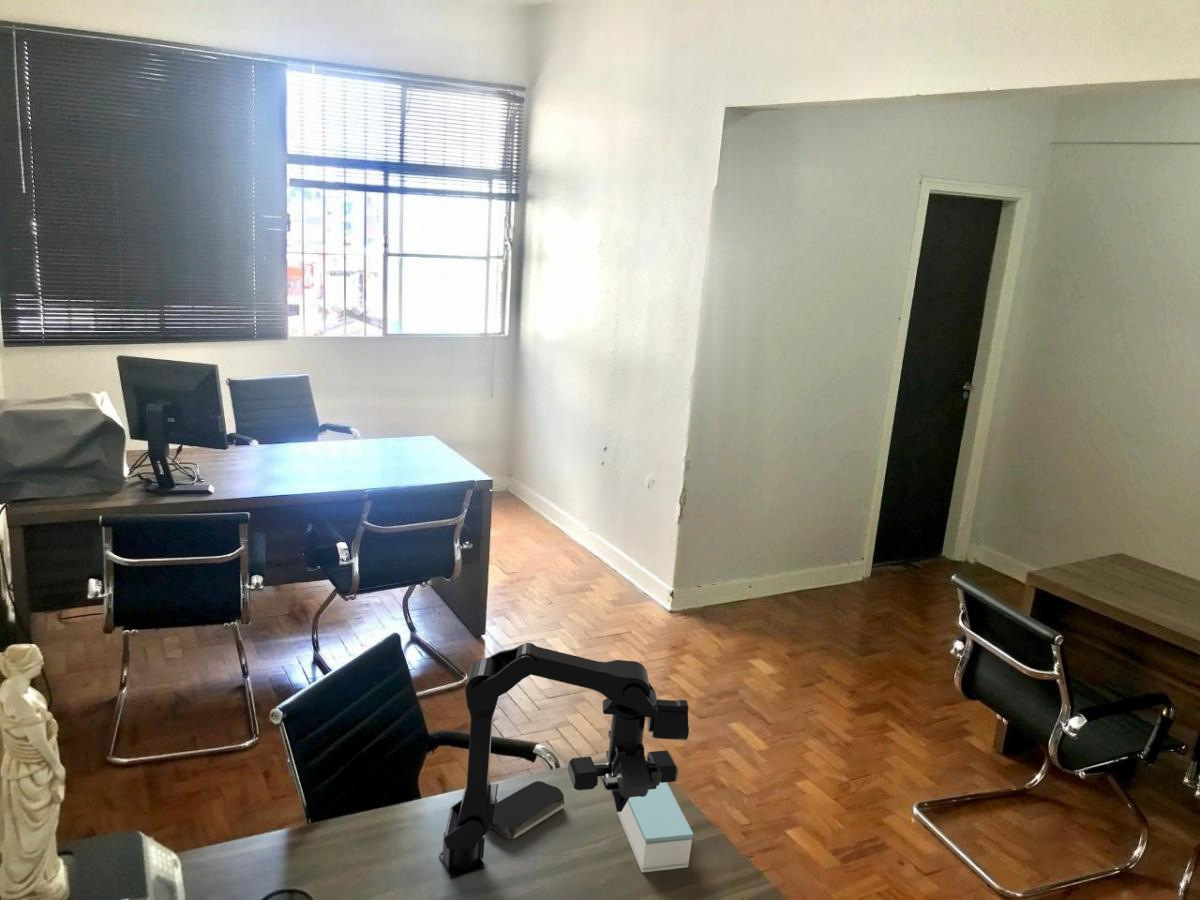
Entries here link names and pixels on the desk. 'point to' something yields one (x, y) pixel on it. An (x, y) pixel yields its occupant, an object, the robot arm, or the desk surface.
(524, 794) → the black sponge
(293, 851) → the desk surface
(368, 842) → the desk surface
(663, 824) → the cover
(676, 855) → the white lidded box
